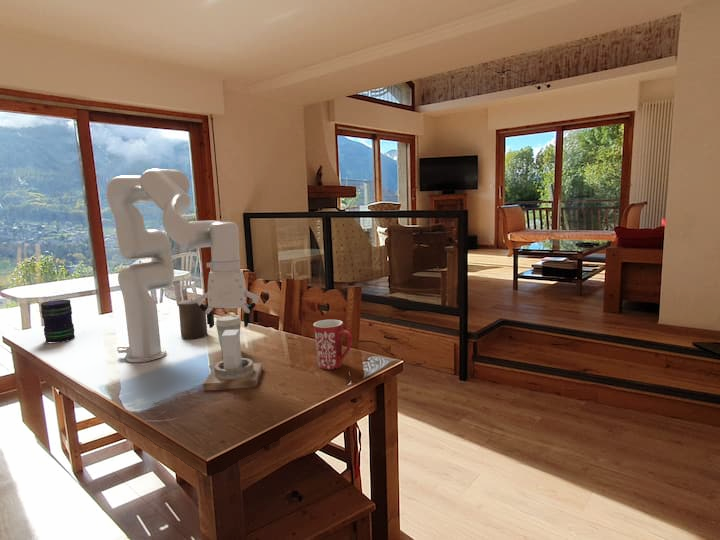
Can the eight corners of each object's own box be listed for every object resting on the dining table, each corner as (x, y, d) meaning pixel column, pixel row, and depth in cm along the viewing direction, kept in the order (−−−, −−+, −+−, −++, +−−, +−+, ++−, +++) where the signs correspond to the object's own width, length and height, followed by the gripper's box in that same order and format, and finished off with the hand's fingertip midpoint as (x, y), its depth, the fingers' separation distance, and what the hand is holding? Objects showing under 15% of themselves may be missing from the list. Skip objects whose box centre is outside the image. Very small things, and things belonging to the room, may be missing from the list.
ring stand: (204, 390, 123) (202, 374, 122) (215, 371, 137) (214, 357, 136) (256, 387, 124) (255, 371, 124) (262, 368, 138) (261, 354, 137)
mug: (309, 367, 138) (307, 324, 136) (327, 358, 145) (325, 317, 143) (342, 375, 131) (341, 330, 129) (360, 365, 138) (358, 322, 136)
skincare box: (227, 369, 133) (224, 329, 131) (242, 368, 134) (239, 328, 132) (223, 376, 127) (220, 335, 125) (239, 375, 128) (236, 334, 126)
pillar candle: (202, 339, 172) (199, 300, 170) (176, 339, 172) (173, 300, 170) (211, 332, 181) (208, 295, 179) (187, 332, 182) (184, 295, 180)
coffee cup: (236, 356, 151) (233, 321, 149) (212, 355, 152) (210, 320, 151) (247, 348, 159) (245, 314, 157) (225, 347, 161) (222, 314, 159)
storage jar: (56, 344, 171) (51, 305, 169) (39, 342, 175) (33, 304, 172) (81, 336, 180) (76, 300, 178) (64, 334, 184) (59, 298, 182)
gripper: (190, 269, 121) (194, 330, 124) (255, 268, 123) (258, 329, 126) (197, 265, 129) (201, 323, 132) (259, 264, 130) (261, 321, 133)
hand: (229, 326), depth 129 cm, fingers open, 9 cm apart
